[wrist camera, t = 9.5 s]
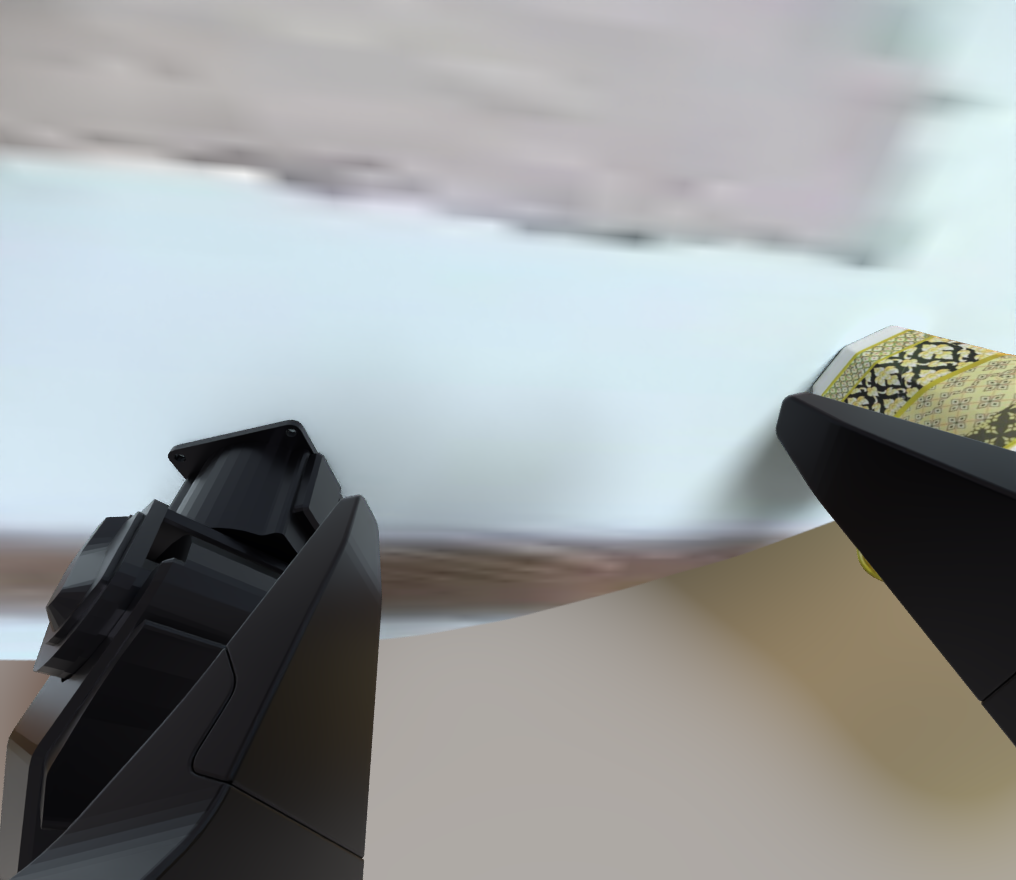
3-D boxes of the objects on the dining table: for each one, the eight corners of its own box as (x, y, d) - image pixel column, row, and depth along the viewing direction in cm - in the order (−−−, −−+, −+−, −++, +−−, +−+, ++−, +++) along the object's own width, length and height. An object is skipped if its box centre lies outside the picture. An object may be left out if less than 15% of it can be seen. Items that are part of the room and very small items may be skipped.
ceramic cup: (869, 271, 23) (1111, 362, 15) (986, 323, 26) (1236, 420, 18) (721, 466, 29) (832, 599, 22) (828, 487, 33) (959, 610, 25)
